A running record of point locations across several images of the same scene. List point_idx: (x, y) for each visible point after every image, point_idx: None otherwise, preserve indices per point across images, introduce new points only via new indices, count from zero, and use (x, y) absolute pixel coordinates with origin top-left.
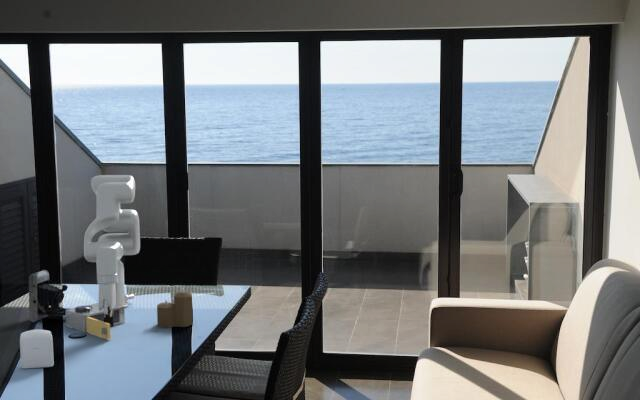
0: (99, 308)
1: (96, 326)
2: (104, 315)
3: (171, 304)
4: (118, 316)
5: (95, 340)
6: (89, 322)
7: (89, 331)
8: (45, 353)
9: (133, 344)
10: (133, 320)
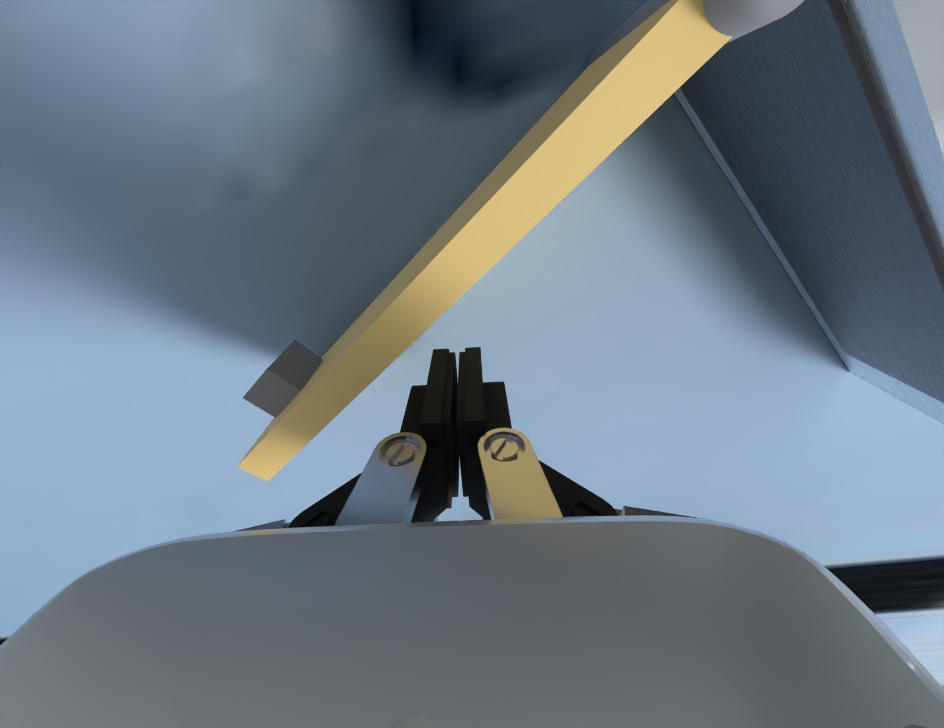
0: (22, 633)
1: (412, 268)
2: (369, 466)
3: None
4: (897, 375)
5: (311, 257)
6: (556, 116)
7: (538, 123)
8: None
9: (278, 503)
10: (877, 417)
